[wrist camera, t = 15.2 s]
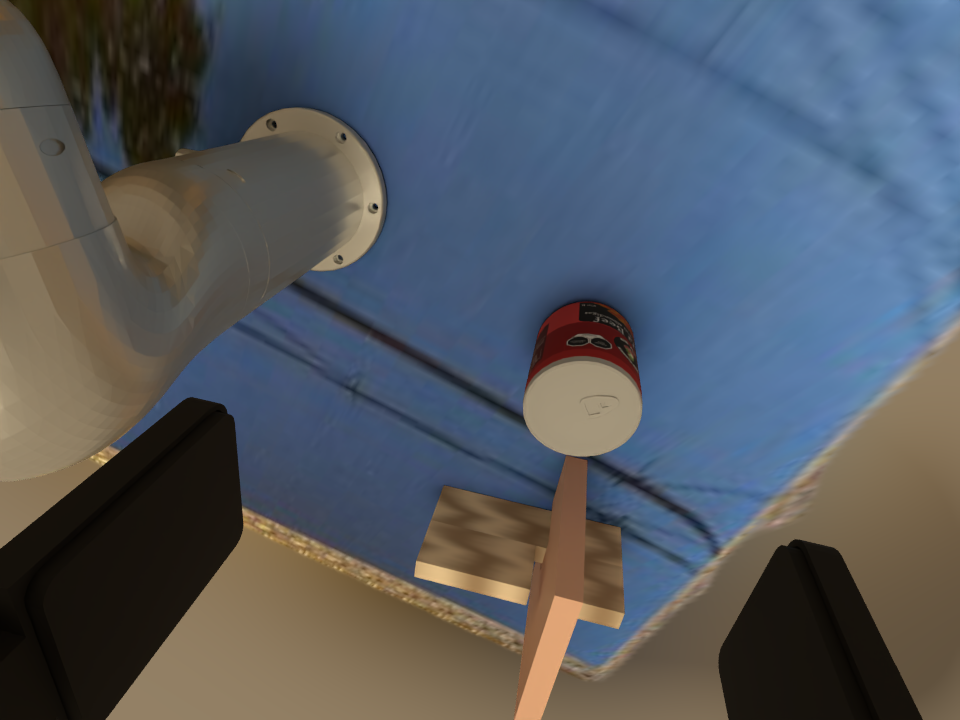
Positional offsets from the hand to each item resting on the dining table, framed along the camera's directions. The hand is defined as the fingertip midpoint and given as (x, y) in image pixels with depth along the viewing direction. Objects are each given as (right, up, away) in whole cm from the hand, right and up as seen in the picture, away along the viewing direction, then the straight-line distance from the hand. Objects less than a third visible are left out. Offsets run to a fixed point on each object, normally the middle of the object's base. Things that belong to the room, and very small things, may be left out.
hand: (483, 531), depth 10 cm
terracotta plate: (+8, -13, +47) cm, 49 cm away
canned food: (+9, +5, +38) cm, 39 cm away
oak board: (+5, -13, +47) cm, 49 cm away
